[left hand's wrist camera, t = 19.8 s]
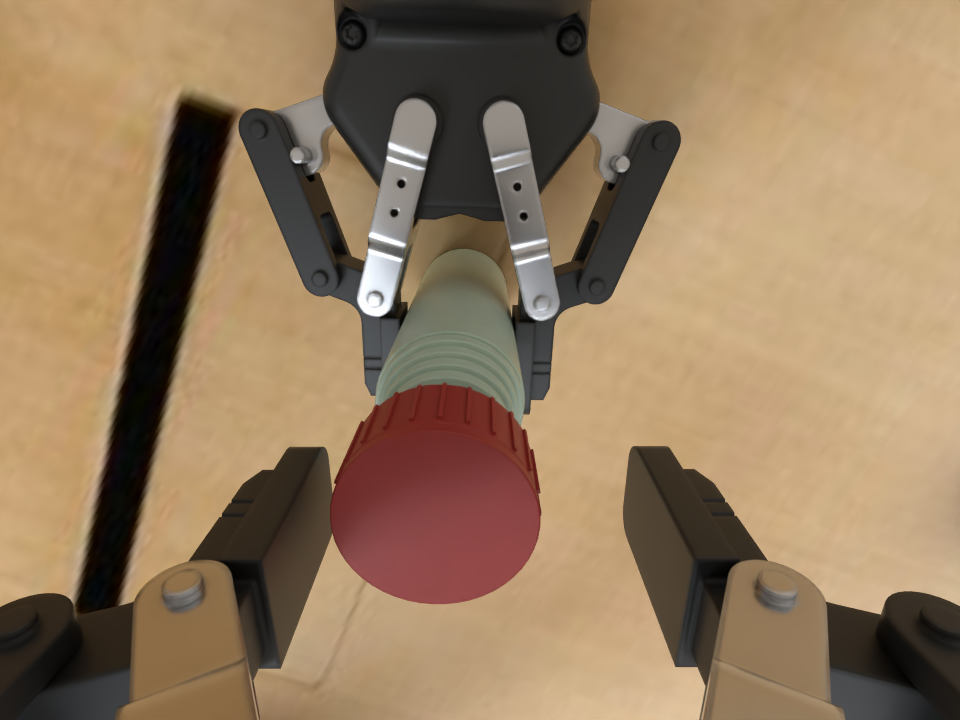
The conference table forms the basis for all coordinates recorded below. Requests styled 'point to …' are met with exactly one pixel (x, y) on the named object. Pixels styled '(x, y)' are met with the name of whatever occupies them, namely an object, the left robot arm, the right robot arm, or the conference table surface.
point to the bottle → (458, 334)
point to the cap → (437, 496)
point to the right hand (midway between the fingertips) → (458, 401)
